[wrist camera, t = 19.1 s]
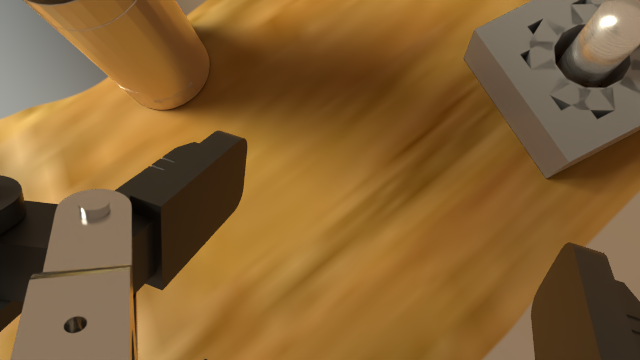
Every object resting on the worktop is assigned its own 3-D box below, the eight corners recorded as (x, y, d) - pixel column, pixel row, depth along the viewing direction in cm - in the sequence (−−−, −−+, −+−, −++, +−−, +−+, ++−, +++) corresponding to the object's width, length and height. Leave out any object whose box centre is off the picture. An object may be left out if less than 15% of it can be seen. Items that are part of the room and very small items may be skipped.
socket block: (463, 58, 46) (474, 29, 41) (587, -5, 46) (612, -41, 41) (546, 179, 42) (568, 162, 37) (680, 109, 42) (720, 83, 37)
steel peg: (537, 77, 44) (588, 5, 34) (573, 58, 45) (636, -19, 34) (561, 111, 43) (623, 47, 33) (599, 91, 43) (672, 22, 33)
